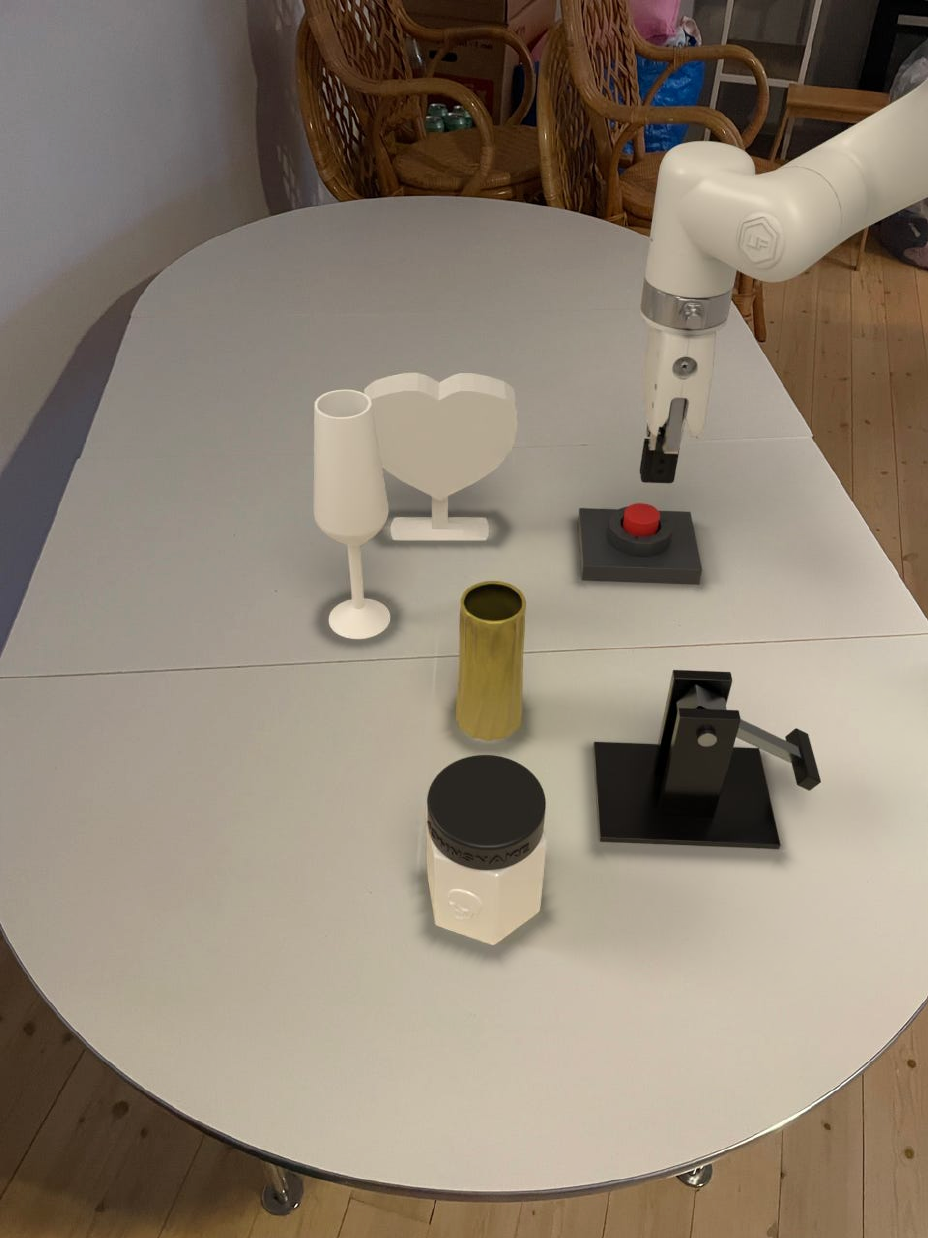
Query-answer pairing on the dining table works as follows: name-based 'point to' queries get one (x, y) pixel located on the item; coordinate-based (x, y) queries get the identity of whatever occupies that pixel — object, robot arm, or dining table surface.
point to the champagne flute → (350, 498)
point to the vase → (491, 660)
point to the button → (641, 519)
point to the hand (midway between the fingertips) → (656, 477)
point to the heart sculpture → (442, 442)
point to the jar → (485, 846)
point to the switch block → (637, 549)
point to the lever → (764, 738)
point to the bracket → (686, 779)
